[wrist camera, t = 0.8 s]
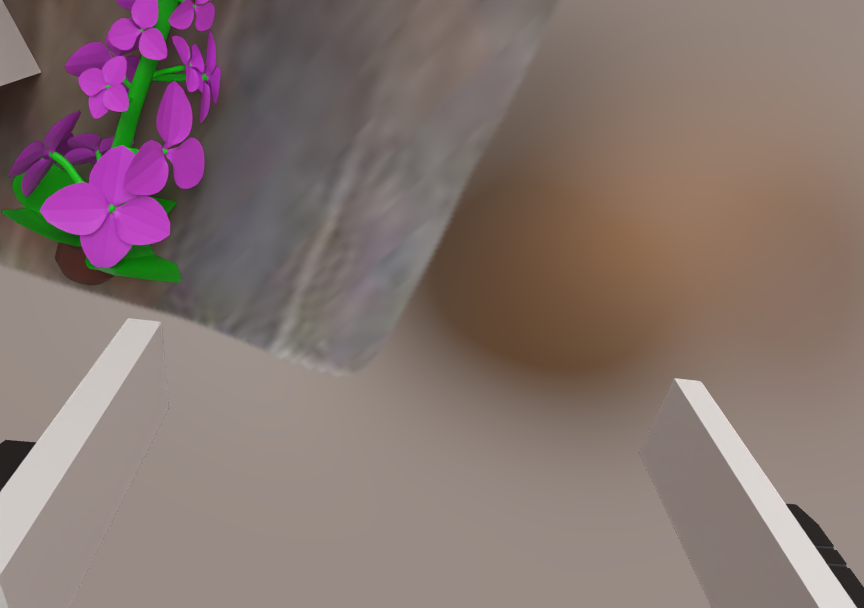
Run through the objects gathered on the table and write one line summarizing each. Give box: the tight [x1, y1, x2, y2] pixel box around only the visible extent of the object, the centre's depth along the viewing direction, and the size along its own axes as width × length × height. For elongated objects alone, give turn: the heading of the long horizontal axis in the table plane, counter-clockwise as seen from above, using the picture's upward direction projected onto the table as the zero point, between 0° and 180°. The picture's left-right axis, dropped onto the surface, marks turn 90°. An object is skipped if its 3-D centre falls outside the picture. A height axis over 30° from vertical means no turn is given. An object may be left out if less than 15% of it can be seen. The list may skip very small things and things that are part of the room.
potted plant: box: [2, 0, 221, 285], centre depth 35 cm, size 12×16×35 cm
